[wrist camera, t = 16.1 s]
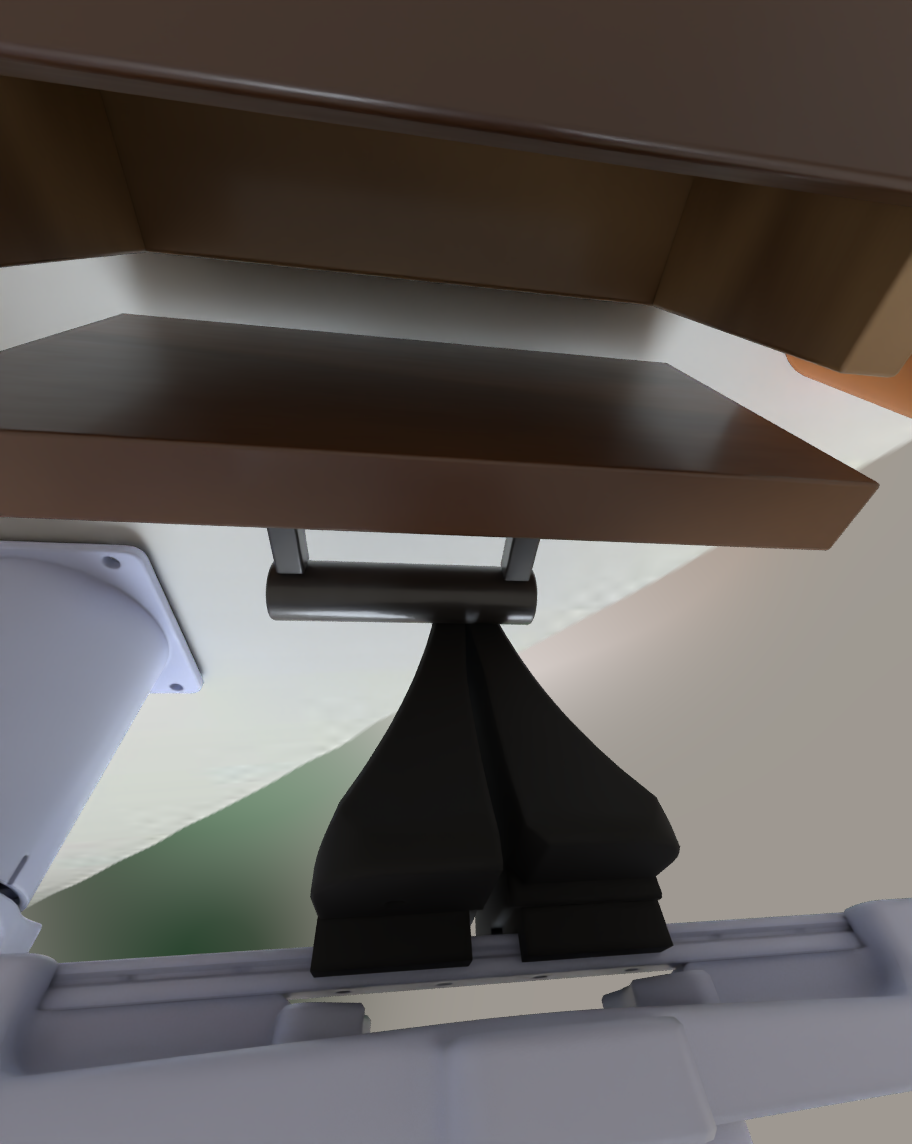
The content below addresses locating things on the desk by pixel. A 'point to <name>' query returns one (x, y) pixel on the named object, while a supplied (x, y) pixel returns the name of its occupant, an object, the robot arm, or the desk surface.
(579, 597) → the desk surface
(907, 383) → the pill bottle
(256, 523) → the drawer
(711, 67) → the cabinet
